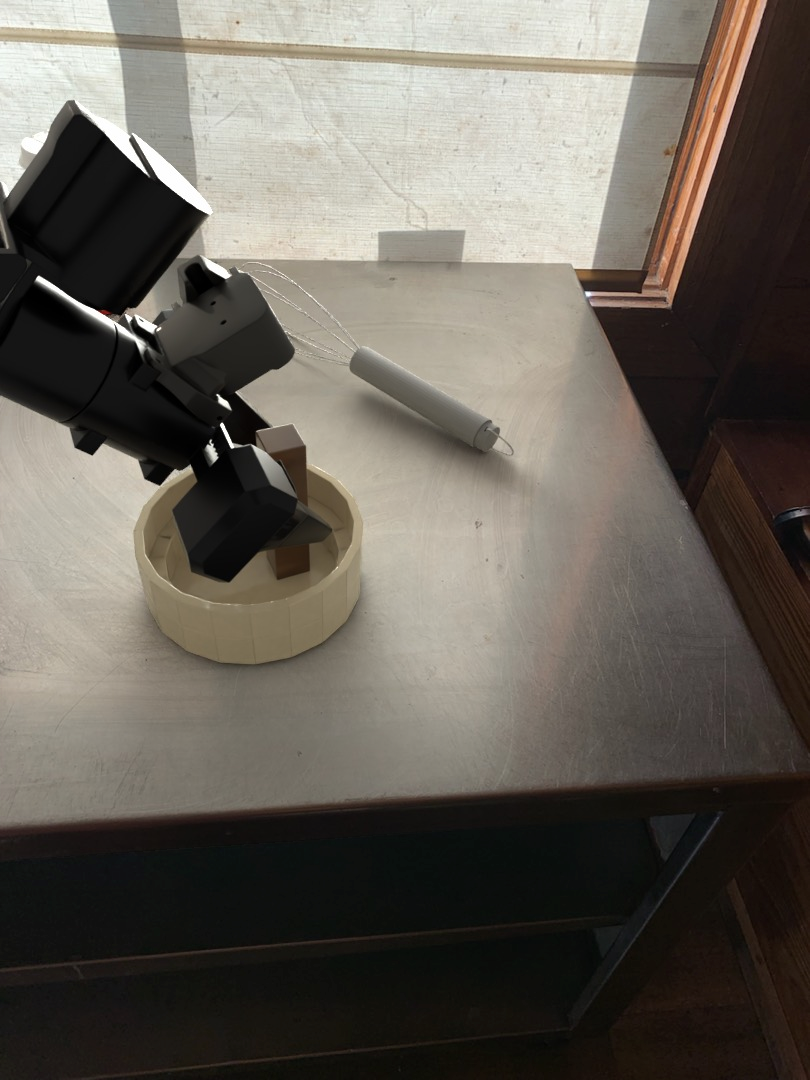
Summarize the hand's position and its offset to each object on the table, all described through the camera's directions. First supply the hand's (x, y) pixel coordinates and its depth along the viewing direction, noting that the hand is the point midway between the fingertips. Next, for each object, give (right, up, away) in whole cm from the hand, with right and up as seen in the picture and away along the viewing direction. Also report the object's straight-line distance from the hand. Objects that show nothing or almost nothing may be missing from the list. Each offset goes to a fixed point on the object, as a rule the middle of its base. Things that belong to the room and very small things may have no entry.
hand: (301, 486), depth 50 cm
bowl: (-4, -6, +4) cm, 8 cm away
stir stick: (-1, -5, +4) cm, 7 cm away
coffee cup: (-24, +20, +29) cm, 43 cm away
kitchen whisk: (+2, +11, +22) cm, 25 cm away
